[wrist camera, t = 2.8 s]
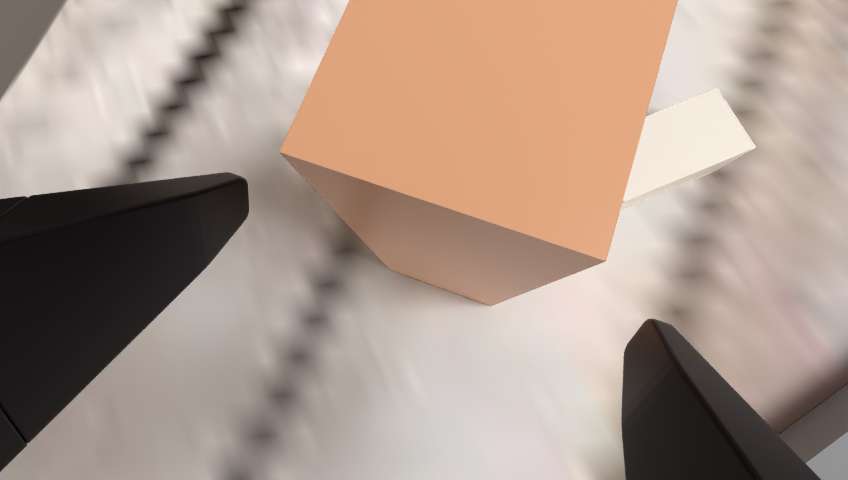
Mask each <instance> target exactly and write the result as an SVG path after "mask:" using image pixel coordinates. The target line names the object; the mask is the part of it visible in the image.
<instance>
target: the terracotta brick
mask: <svg viewBox="0 0 848 480" xmlns="http://www.w3.org/2000/svg"><path fill="white" fill-rule="evenodd" d="M677 2H678V0H349V3H348V5H347V7H346V9H345V11H344V13H343V16H342V18H341V20H340V22H339V24H338V26H337V28H336V31H335V33H334V35H333V37H332V39H331V41H330V44H329V46H328V48H327V50H326V52H325V54H324V57H323V59H322V61H321V63H320V65H319V67H318V69H317V72H316V74H315V76H314V78H313V80H312V82H311V85H310V87H309V89H308V91H307V93H306V95H305V98H304V100H303V102H302V104H301V106H300V108H299V110H298V113H297V115H296V117H295V119H294V121H293V123H292V126H291V128H290V130H289V132H288V134H287V136H286V138H285V141H284V143H283V145H282V147H281V149H280V151H279V152H280V153H281V154H282V155H283V157H284V158H285V159H286V160H287V161H288V162H289V163H290V164H291V165H292V166H293V167H294V168H295V169H296V170H297V171H298V173H299V174H300V175H301V176H302V177H303V178H304V179H305V180H306V181H307V182H308V183H309V184H310V185H311V186H312V187H313V189H314V190H315V191H316V192H317V193H318V194H319V195H320V196H321V197H322V198H323V199H324V200H325V201H326V202H327V203H328V205H329V206H330V207H331V208H332V209H333V210H334V211H335V212H336V213H337V214H338V215H339V216H340V217H341V218H342V219H343V220H344V222H345V223H346V224H347V225H348V226H349V227H350V228H351V229H352V230H353V231H354V232H355V233H356V234H357V235H358V236H359V238H360V239H361V240H362V241H363V242H364V243H365V244H366V245H367V246H368V247H369V248H370V249H371V250H372V251H373V252H374V254H375V255H376V256H377V257H378V258H379V259H380V260H381V261H382V262H383V263H384V264H385V265H386V266H387V267H388V268H389V270H392V271H395V272H397V273H400V274H403V275H406V276H409V277H411V278H414V279H417V280H420V281H423V282H425V283H428V284H431V285H434V286H436V287H439V288H442V289H445V290H448V291H450V292H453V293H456V294H459V295H462V296H464V297H467V298H470V299H473V300H475V301H478V302H481V303H484V304H487V305H489V306H492V305H495V304H497V303H500V302H503V301H505V300H508V299H510V298H513V297H515V296H518V295H521V294H523V293H526V292H528V291H531V290H533V289H536V288H539V287H541V286H544V285H546V284H549V283H551V282H554V281H556V280H559V279H562V278H564V277H567V276H569V275H572V274H574V273H577V272H580V271H582V270H585V269H587V268H590V267H592V266H595V265H597V264H600V263H603V262H605V261H606V259H607V256H608V252H609V248H610V245H611V241H612V238H613V234H614V230H615V227H616V223H617V219H618V216H619V212H620V209H621V205H622V201H623V198H624V194H625V190H626V187H627V183H628V179H629V176H630V172H631V169H632V165H633V161H634V158H635V154H636V150H637V147H638V143H639V140H640V136H641V132H642V129H643V125H644V121H645V118H646V114H647V110H648V107H649V103H650V100H651V96H652V92H653V89H654V85H655V81H656V78H657V74H658V71H659V67H660V63H661V60H662V56H663V52H664V49H665V45H666V41H667V38H668V34H669V31H670V27H671V23H672V20H673V16H674V12H675V9H676V5H677Z"/></svg>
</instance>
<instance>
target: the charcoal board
mask: <svg viewBox="0 0 848 480" xmlns="http://www.w3.org/2000/svg"><path fill="white" fill-rule="evenodd" d="M779 436H780V437H781V438H782V439H783V440H784V441H785V442H786V443H787V445H788V446H789V447H790V448H791V449H792V450H793V451H794V452H795V453H796V454H797V455H798V456H799V457H800V458H801V459H802V460H803V461H804V462H805V463H806V464H807V465H808V466H809V467H810V468H811V469H812V470H813V471H814V472H815V473H816V474H817V475H818V476H819V478H820V479H821V480H848V384H847V385H845V386H844V387H843V388H841V389H840V390H838V391H837V392H836V393H834V394H833V395H832V396H830V397H829V398H828V399H826V400H825V401H824V402H822V403H821V404H820V405H818V406H817V407H816V408H814V409H813V410H811V411H810V412H809V413H807V414H806V415H805V416H803V417H802V418H801V419H799V420H798V421H797V422H795V423H794V424H793V425H791V426H790V427H788V428H787V429H786V430H784V431H783V432H782V433H780V434H779Z"/></svg>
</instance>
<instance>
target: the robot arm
mask: <svg viewBox="0 0 848 480" xmlns="http://www.w3.org/2000/svg"><path fill="white" fill-rule="evenodd" d="M248 213H249V198H248V183H247V181H246V179H245V178H243V177H241V176H238V175H235V174H232V173H228V172H226V173H217V174H209V175H200V176H192V177H183V178H175V179H167V180H158V181H150V182H141V183H133V184H124V185H116V186H108V187H99V188H91V189H82V190H74V191H66V192H57V193H49V194H40V195H32V196H30V197H26V196H23V197H14V198H6V199H0V472H1V471H2V470H3V469H4V468H5V467H6V466H7V465H8V464H9V463H10V462H11V461H12V460H13V459H14V458H15V457H16V456H17V455H18V454H19V453H20V452H21V451H22V450H23V449H24V448H25V447H26V446H27V443H29V442H30V441H31V440H33V439H34V438H35V437H36V436H37V435H38V434H39V433H40V432H41V431H42V430H43V429H44V428H45V427H46V426H47V425H48V424H49V423H50V422H51V421H52V420H53V419H54V418H55V417H56V416H57V415H58V414H59V413H60V412H61V411H62V410H63V409H64V408H65V407H66V406H67V405H68V404H69V403H70V402H71V401H72V400H73V399H74V398H75V397H76V396H77V395H78V394H79V393H80V392H81V391H82V390H83V389H84V388H85V387H86V386H87V385H88V384H89V383H90V382H91V381H92V380H93V379H94V378H95V377H96V376H97V375H98V374H99V373H100V372H101V371H102V370H103V369H104V368H105V367H106V366H107V365H108V364H109V363H110V362H111V361H112V360H113V359H114V358H115V357H116V356H117V355H118V354H119V353H120V352H121V351H122V350H124V349H125V348H126V347H127V346H128V345H129V344H130V343H131V342H132V341H133V340H134V339H135V338H136V337H137V336H138V335H139V334H140V333H141V332H142V331H143V330H144V329H145V328H146V327H147V326H148V325H149V324H150V323H151V322H152V321H153V320H154V319H155V318H156V317H157V316H158V315H159V314H160V313H161V312H162V311H163V310H164V309H165V308H166V307H167V306H168V305H169V304H170V303H171V302H172V301H173V300H174V299H175V298H176V297H177V296H178V295H179V294H180V293H181V292H182V291H183V290H184V289H185V288H186V287H187V286H188V285H189V284H190V283H191V282H192V281H193V280H194V279H195V278H196V277H197V276H198V275H199V274H200V273H201V272H202V271H203V270H204V269H205V268H206V267H207V266H208V265H209V264H210V262H211V261H212V260H213V259H214V258H215V257H216V255H217V254H218V253H219V252H220V250H221V249H222V248H223V247H224V245H225V244H226V243H227V242H228V241H229V239H230V238H231V237H232V236H233V234H234V233H235V232H236V231H237V230H238V228H239V227H240V226H241V225H242V223H243V222H244V221H245V219H246V218H247V216H248ZM622 439H623V451H624V463H625V476H626V480H821V479H820V478H819V476H818V475H817V474H816V473H815V472H814V471H813V470H812V469H811V468H810V467H809V466H808V465H807V464H806V463H805V462H804V461H803V460H802V459H801V458H800V457H799V456H798V455H797V454H796V453H795V452H794V451H793V450H792V449H791V448H790V447H789V446H788V445H787V443H786V442H785V441H784V440H783V439H782V438H781V437H780V436H779V435H778V434H777V433H776V432H775V431H774V430H773V429H772V428H771V427H770V426H769V425H768V424H767V423H766V422H765V421H764V420H763V419H762V418H761V417H760V416H759V415H758V414H757V413H756V411H755V410H754V409H753V408H752V407H751V406H750V405H749V404H748V403H747V402H746V401H745V400H744V399H743V398H742V397H741V396H740V395H739V394H738V393H737V392H736V391H735V390H734V389H733V388H732V387H731V386H730V385H729V384H728V383H727V382H726V381H725V379H724V378H723V377H722V376H721V375H720V374H719V373H718V372H717V371H716V370H715V369H714V368H713V367H712V366H711V365H710V364H709V363H708V362H707V361H706V360H705V359H704V358H703V357H702V356H701V355H700V354H699V353H698V352H697V351H696V350H695V349H694V347H693V346H692V345H691V344H690V343H689V342H688V341H687V340H686V339H685V338H684V337H683V336H682V335H681V334H680V333H679V332H678V331H677V330H676V329H675V328H674V327H673V326H672V325H670V324H667V323H664V322H662V321H659V320H656V319H648V320H646V321H645V322H644V323H643V324H642V326H641V327H640V328H639V330H638V331H637V332H636V334H635V335H634V336H633V337H632V339H631V340H630V341H629V343H628V344H627V346H626V348H625V352H624V365H623V389H622Z"/></svg>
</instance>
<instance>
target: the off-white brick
mask: <svg viewBox="0 0 848 480" xmlns="http://www.w3.org/2000/svg"><path fill="white" fill-rule="evenodd" d="M754 148H756V147H755V145H754V144H753V142H752V140H751V139H750V137H749V136H748V134H747V133H746V131H745V130H744V128H743V127H742V125H741V124H740V122H739V121H738V119H737V117H736V116H735V114H734V113H733V111H732V110H731V108H730V107H729V105H728V104H727V102H726V101H725V99H724V98H723V96H722V95H721V93H720V91H719V90H718V88H715V89H713V90H710V91H708V92H705V93H703V94H700V95H698V96H695V97H693V98H690V99H688V100H685V101H683V102H680V103H678V104H676V105H673V106H671V107H668V108H666V109H663V110H661V111H658V112H656V113H653V114H651V115H648V116H646V118H645V121H644V125H643V129H642V132H641V136H640V140H639V143H638V147H637V150H636V154H635V158H634V161H633V165H632V169H631V172H630V176H629V179H628V183H627V187H626V190H625V194H624V198H623V201H622V205H621V209H620V211H621V210H623V209H625V208H628V207H630V206H633V205H635V204H638V203H640V202H642V201H645V200H647V199H650V198H652V197H654V196H657V195H659V194H662V193H664V192H667V191H669V190H671V189H674V188H676V187H679V186H681V185H683V184H686V183H688V182H691V181H693V180H696V179H698V178H700V177H703V176H705V175H708V174H710V173H712V172H714V171H715V170H717V169H719V168H721V167H723V166H724V165H726V164H728V163H730V162H731V161H733V160H735V159H737V158H738V157H740V156H742V155H744V154H745V153H747V152H749V151H751V150H752V149H754Z"/></svg>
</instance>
